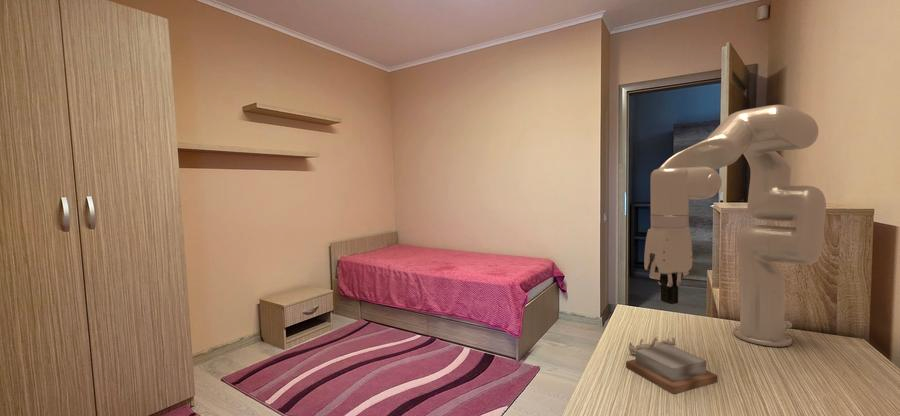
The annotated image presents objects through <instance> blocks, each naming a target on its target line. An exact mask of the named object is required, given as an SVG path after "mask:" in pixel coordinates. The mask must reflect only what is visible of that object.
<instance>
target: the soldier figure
mask: <svg viewBox="0 0 900 416" xmlns="http://www.w3.org/2000/svg"><path fill="white" fill-rule="evenodd" d="M658 338H659V336H655V337H654V339H652V341H651V343H643V342H644V340H643V338H641V339H640V342H639V343H638V344H637V345H636V346H635V345H634V344H633V343H632V342H630V343H629V344H628V350H629V353H630V354H632V353H633V354H636V350H641V349H645V348H650V347H654V346H659V345H663V344H669V345H671V346H674V347H676V339H675V337H674V336H673V337H672V338H671V341H670V338H667V339H666V340H665V339H661V341H658Z"/></svg>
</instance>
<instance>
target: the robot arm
mask: <svg viewBox="0 0 900 416" xmlns="http://www.w3.org/2000/svg"><path fill="white" fill-rule="evenodd" d="M818 136H819V126H818V124H817V122H816V120H815V119H814V118H813V117H812V116H811V115H809V114H808V113H806V112H803V111H801V110H799V109H798V108H794V107H792V106H788V105H784V104H773V105H766V106H765V105H764V106H759V107H754V108H748V109H747V108H746V109H742V110H739V111H735V112H734V113H733V112H732V113H731V114H729V115H728V116H727V117H726V118H724V120H723V121H722V122H721V123H720V124H719V125H718V126H717V127H716V128H715V130H714V131H713V132H711V133H710V134H709V135H708V136H707V137H706V138H705V139H703V140H702V141H699V142H696V143H695V144H693V145H691V146H689V147H687V148H685V149H683V150H680V151H678V152H677V153H675V154H674V155H672V156H671V157H669V158H668V159H667V160H665V162H663V163H662V164H661V166H660V167H658V168H656V169H653V171H651V173H650V228H648V229H647V233H646V237H645V244H644V257H643V259H644V260H643V263H644V264H643V266H644V270H646V271H648V272H649V275H648V276H649V278H650V279H653V280H657V282H658V284H659V285H660V300H661V302H664V303H666V304H669V305H675V304H679V287H680V286H681V283H682V279H683V278H684V277H685V276H688V275H689V274H690V272H689V271H690V270H691V269H692V267H693V245H692V244H693V243H692V237H691V236H692V235H691V230H690V221H689V219H690V215H689V214H690V213H689V212H690V211H689V209H690V200H707V199H710V198H713V197H714V196H716V195H717V194H718V193H719V191H720V190H721V188H722V177H721V176H720V174H719V173H718V172H717V169H721V168H724V167H727V166H731V165H732V164H734V163H736V162H737V161H738V159H740V157H741V156H742V155H743V156H744V157H745V159H746V161H747V162H748V165H749V169H750V178H749V186H748V196H747V197H748V198H747V212H748V215H749V216H750V217H751V218H753V219H756V220H761V221H770V222H774V221H775V222H789V223H790V222H791V223H795V226H781V225H770V224H769V225H766V224H751V225H746V226H743V227H742V228H741V229H739V231H738V232H737V235H736V239H735V240H736V241H735V243H736V248H737V251H738V257H739V264H740V267H739V268H740V269H739V270H740V283H739V284H740V286H739V287H740V293H739V294H740V295H739V296H740V303H739V304H740V306H739V308H740V309H739V310H740V311H739V313H740V314H739V317H740V318H739V319H740V320H739V322H740V323H739V326H736V327H734V328H733V330H732V331H733V335H735V337H737V338H738V339H741V340H743V341H745V342H747V343H751V344H756V345H760V346H765V347H766V346H768V347H788V346H790V345H792V341H793V338H792V337H791V336H790V335H788V334H787V333H786V332H785V331H786V330H787V329H791V328H792V327H793V324H792V322H791V321H789V320H785V313H786V312H785V305H786V304H785V303H786V301H785V300H786V299H785V297H786V295H785V294H786V277H785V275H784V272H783V270H782V269H781V268H780V266H779V264H777V262H778V263H786V264H794V265H799V266H800V265H801V266H803V265H804V266H808V265H809V266H810V265H813V264H815V263H817V262H818V261H819V259H820V257H821V254H822V251H823V243H824V232H825V224H826V215H827V202H826V197H825V195H824V192H823V191H822V190H821V189H820V188H818V187H816V186H813V185H791V173H792V169H791V166H790V165H789V163H788V162H787V161H786V160H785V158H784V157H783V156H781V155H780V154H779V153H778V152H782V151H795V150H796V151H797V150H803V149H808V148H810V147H811V146H812V145H814V144H815V142H816V140H817V139H818Z"/></svg>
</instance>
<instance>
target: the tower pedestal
mask: <svg viewBox="0 0 900 416" xmlns="http://www.w3.org/2000/svg"><path fill="white" fill-rule="evenodd" d="M625 368H626V369H628V370H630V371H631V372H634V374H637V375H639V376H640V377H642V378H644V379H646V380H648V381H650V382H651V383H653V384H655V385H657V386H658V387H660V388H661V389H663V390H665V391H667V392H670V393H671V394H673V395H675V394H680V393H682V392H686V391H687V392H688V391H690V390H694V389H697V388H700V387H704V386H708V385H711V384H716V383H718V374H715V373H713V372H712V371H709V370H707V360H706V359H704V358H701V357H699V356H697V355H695V354H692V353H690V352H687V351H685V350H683V349H680V348H677V346H672V345H669V344H663V345H659V346H654V347H650V348H645V349H641V350H636V353H635V359H630V360H626V361H625Z"/></svg>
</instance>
